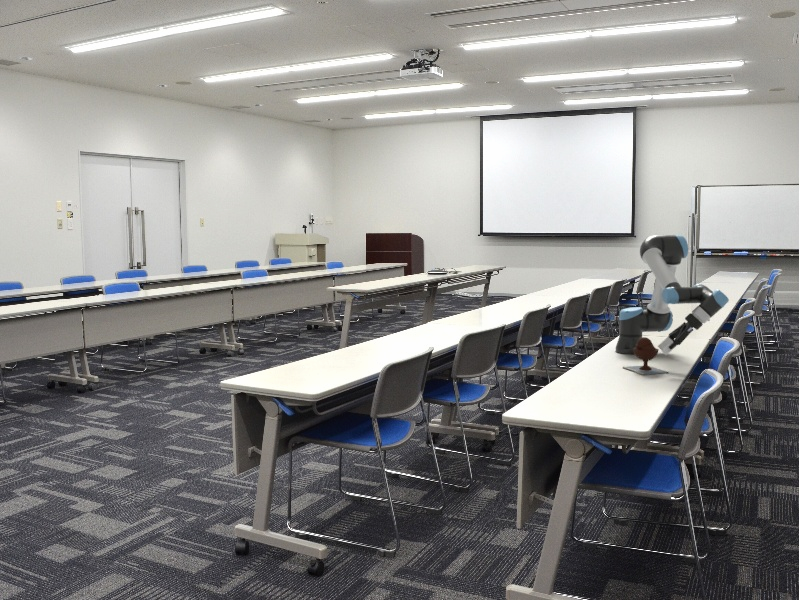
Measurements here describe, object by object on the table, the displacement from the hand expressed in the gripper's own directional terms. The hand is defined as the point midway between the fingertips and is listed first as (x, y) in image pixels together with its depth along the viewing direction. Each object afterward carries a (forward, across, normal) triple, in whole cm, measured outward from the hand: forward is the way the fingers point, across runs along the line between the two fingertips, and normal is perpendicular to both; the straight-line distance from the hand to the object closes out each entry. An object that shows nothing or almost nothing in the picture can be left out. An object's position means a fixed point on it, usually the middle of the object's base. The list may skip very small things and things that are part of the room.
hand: (661, 350), depth 326 cm
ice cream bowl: (+11, 0, -2) cm, 11 cm away
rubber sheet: (+12, 0, -2) cm, 12 cm away
